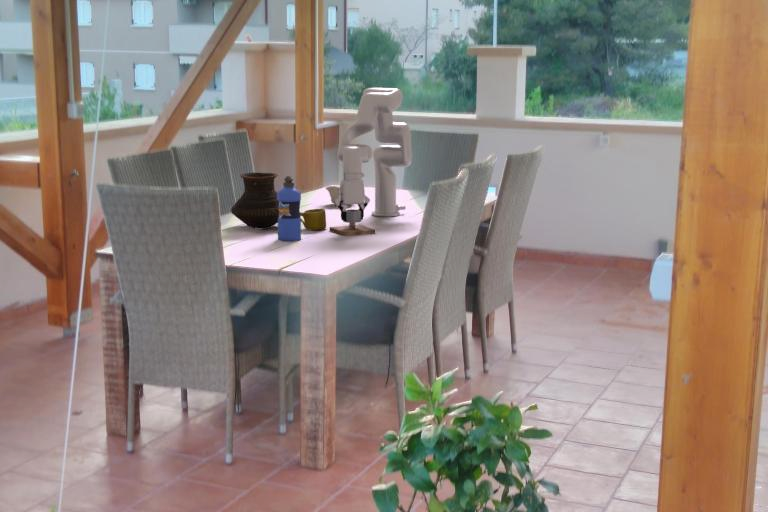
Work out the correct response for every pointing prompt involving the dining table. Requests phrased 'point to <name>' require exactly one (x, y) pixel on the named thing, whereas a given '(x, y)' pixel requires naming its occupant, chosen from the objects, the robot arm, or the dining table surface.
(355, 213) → the collar
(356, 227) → the post block
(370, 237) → the dining table surface
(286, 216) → the water bottle
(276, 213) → the ceramic pot
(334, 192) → the bowl
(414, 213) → the dining table surface
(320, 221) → the mug
